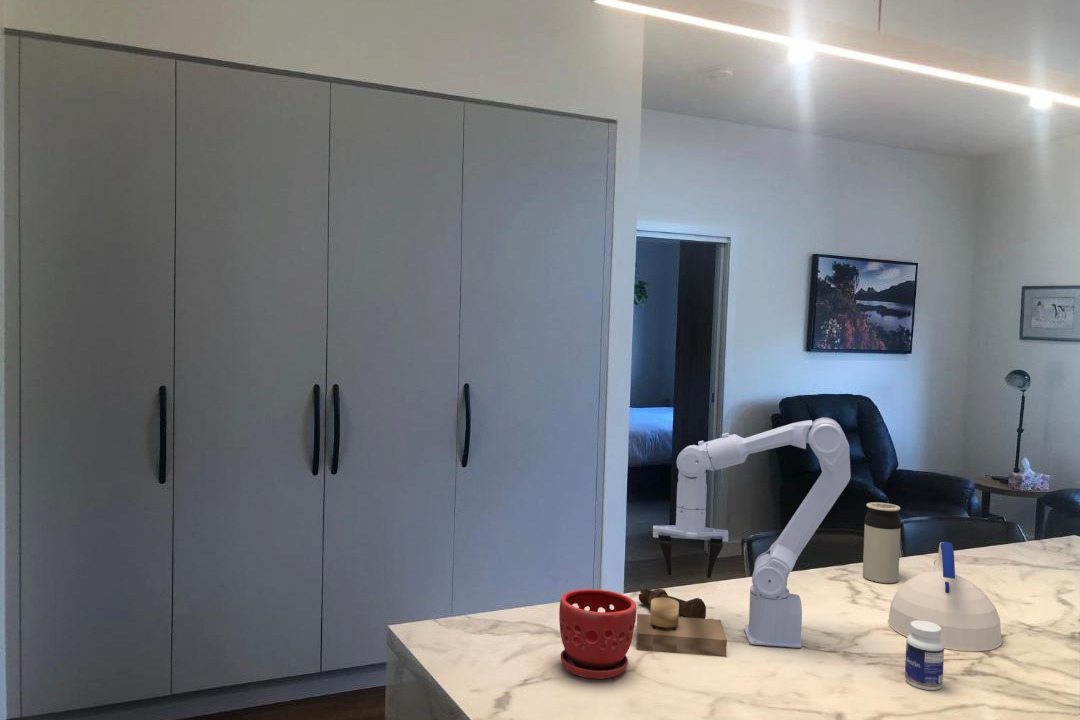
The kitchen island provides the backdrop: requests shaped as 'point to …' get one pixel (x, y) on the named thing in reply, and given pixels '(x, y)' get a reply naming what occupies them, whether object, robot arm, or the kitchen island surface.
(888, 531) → the travel mug
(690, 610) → the bolt
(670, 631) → the brown flat rectangular block
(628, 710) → the kitchen island surface
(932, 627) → the pill bottle
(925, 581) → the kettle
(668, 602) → the oak peg
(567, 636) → the plant pot
